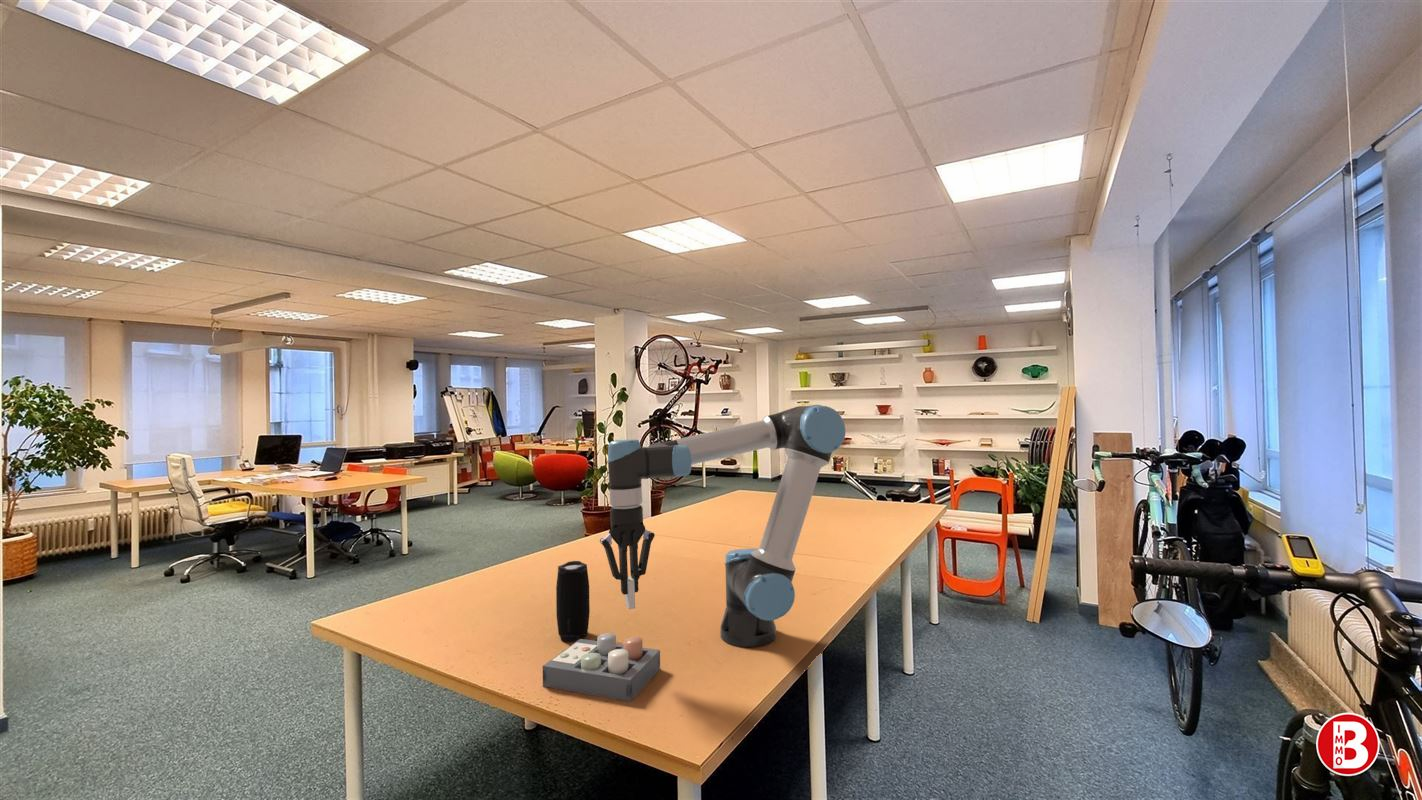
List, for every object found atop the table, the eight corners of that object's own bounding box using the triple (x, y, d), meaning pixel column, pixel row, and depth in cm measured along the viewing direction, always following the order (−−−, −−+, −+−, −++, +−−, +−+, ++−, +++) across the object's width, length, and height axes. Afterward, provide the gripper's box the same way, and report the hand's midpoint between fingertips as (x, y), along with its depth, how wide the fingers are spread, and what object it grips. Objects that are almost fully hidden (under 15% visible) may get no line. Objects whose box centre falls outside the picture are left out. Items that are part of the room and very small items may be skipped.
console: (660, 669, 126) (659, 648, 126) (630, 701, 112) (630, 678, 112) (580, 656, 133) (580, 637, 133) (542, 686, 119) (542, 664, 119)
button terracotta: (645, 657, 125) (645, 637, 125) (637, 665, 121) (637, 645, 121) (629, 654, 127) (629, 635, 127) (620, 663, 123) (620, 643, 123)
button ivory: (632, 670, 119) (631, 650, 119) (622, 680, 115) (622, 659, 115) (614, 668, 120) (614, 648, 120) (604, 677, 116) (604, 656, 116)
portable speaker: (569, 628, 152) (568, 559, 152) (596, 632, 148) (596, 562, 149) (549, 639, 144) (548, 567, 145) (577, 645, 140) (576, 570, 141)
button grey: (619, 653, 128) (619, 634, 128) (610, 661, 124) (610, 641, 124) (603, 651, 129) (603, 632, 129) (593, 659, 125) (593, 639, 125)
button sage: (604, 674, 121) (604, 654, 121) (594, 683, 117) (594, 662, 117) (587, 671, 122) (587, 651, 123) (577, 680, 118) (576, 660, 118)
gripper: (647, 500, 131) (651, 596, 130) (594, 506, 125) (598, 607, 124) (658, 504, 124) (662, 606, 123) (603, 511, 118) (607, 618, 118)
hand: (630, 606), depth 124 cm, fingers closed
